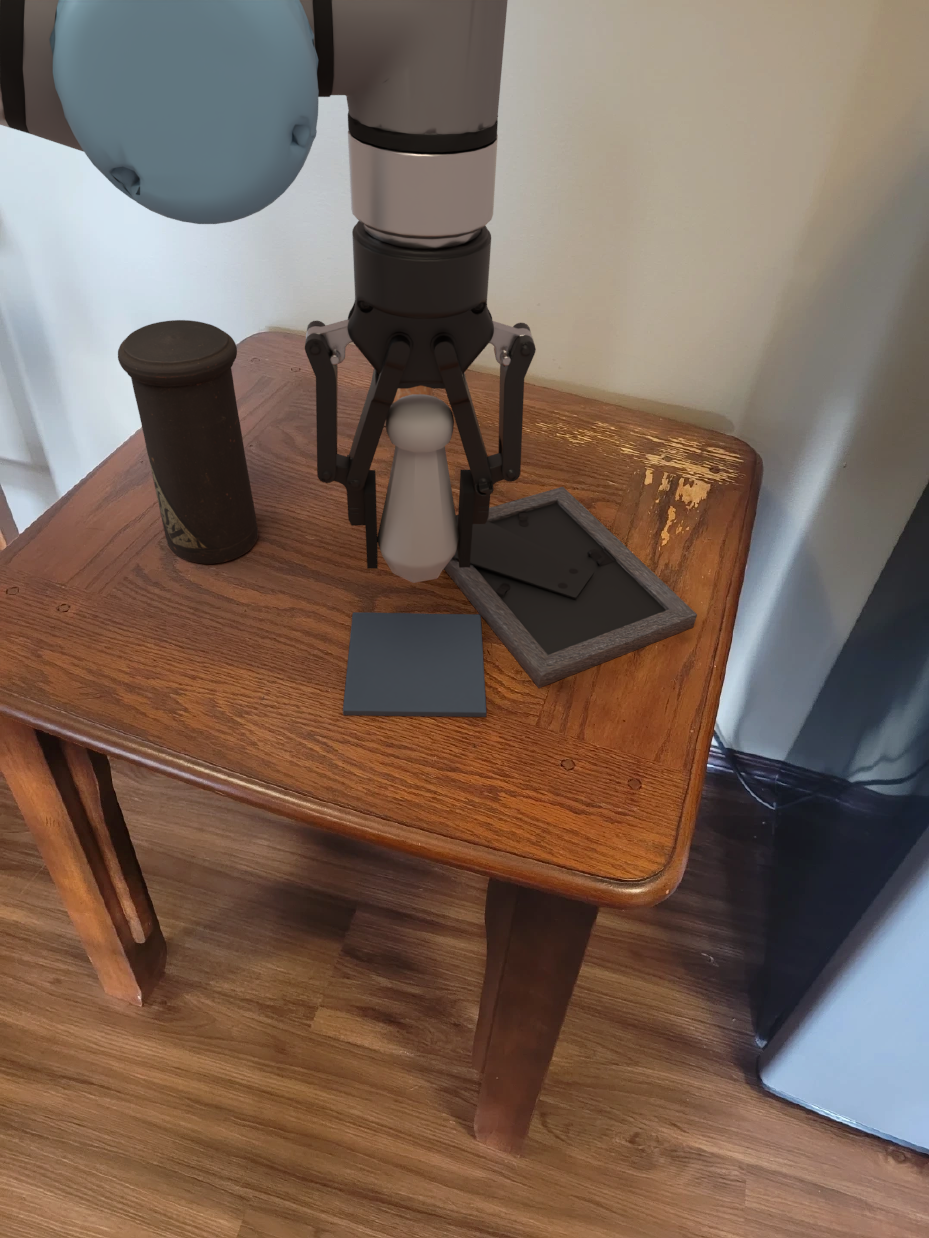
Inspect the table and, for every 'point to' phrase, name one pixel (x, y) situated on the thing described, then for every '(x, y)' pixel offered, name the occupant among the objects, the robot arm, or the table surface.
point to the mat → (415, 665)
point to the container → (193, 437)
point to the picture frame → (563, 587)
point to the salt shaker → (419, 490)
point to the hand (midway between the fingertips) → (418, 555)
